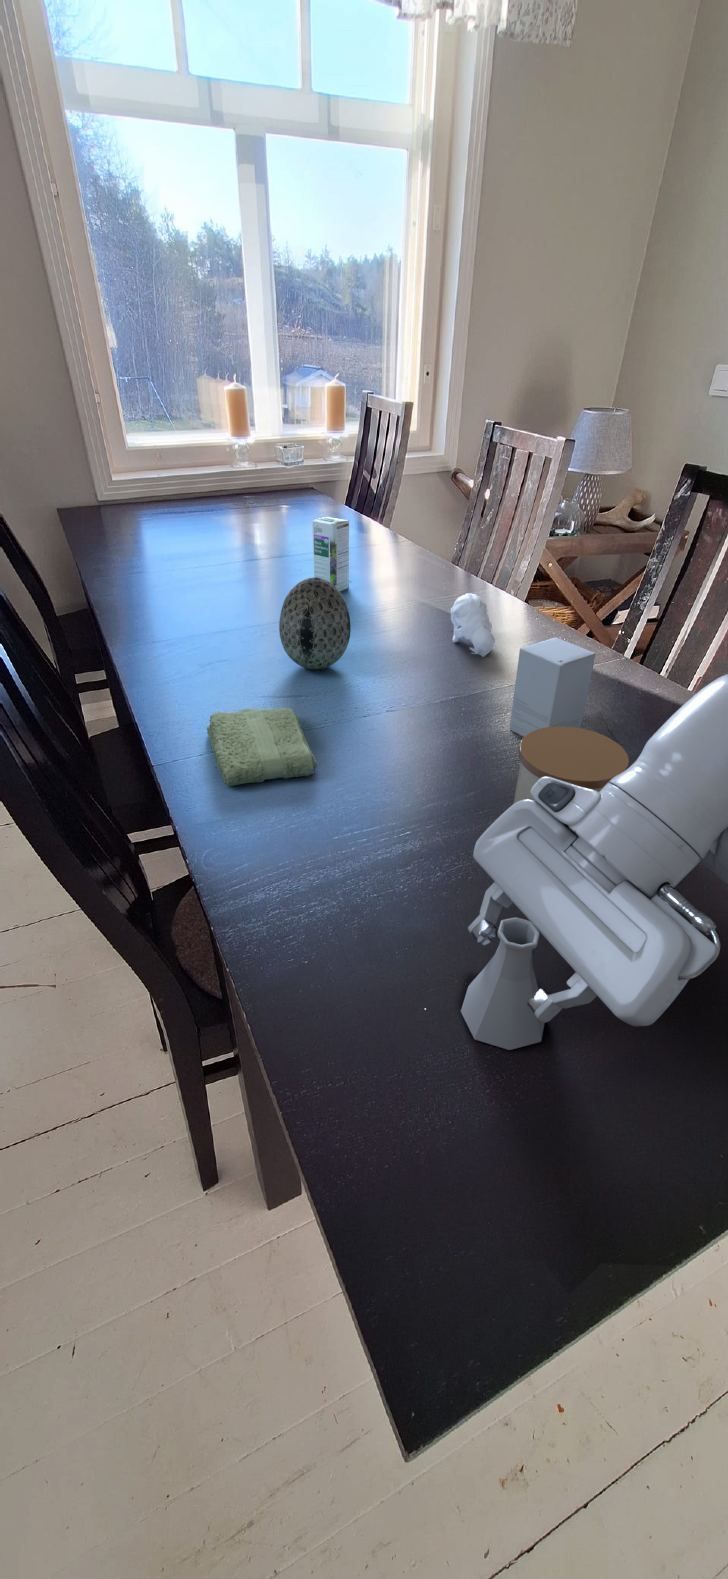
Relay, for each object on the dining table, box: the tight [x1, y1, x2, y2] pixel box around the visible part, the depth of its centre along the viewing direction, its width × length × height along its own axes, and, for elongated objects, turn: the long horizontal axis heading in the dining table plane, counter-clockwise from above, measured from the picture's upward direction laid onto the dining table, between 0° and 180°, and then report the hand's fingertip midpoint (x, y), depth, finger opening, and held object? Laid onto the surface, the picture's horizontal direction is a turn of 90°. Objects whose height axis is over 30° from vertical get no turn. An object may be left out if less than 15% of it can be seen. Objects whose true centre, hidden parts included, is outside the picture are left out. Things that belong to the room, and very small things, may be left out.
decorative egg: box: [278, 576, 352, 671], centre depth 113 cm, size 12×12×15 cm
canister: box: [512, 726, 630, 805], centre depth 79 cm, size 12×12×10 cm
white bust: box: [450, 592, 496, 658], centre depth 123 cm, size 6×8×12 cm
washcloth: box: [206, 707, 319, 787], centre depth 93 cm, size 13×18×3 cm
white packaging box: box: [508, 636, 597, 738], centre depth 96 cm, size 7×7×13 cm
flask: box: [460, 917, 545, 1051], centre depth 56 cm, size 7×7×10 cm
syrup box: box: [312, 516, 350, 593], centre depth 147 cm, size 6×6×14 cm
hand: (504, 973), depth 56 cm, fingers open, 7 cm apart
